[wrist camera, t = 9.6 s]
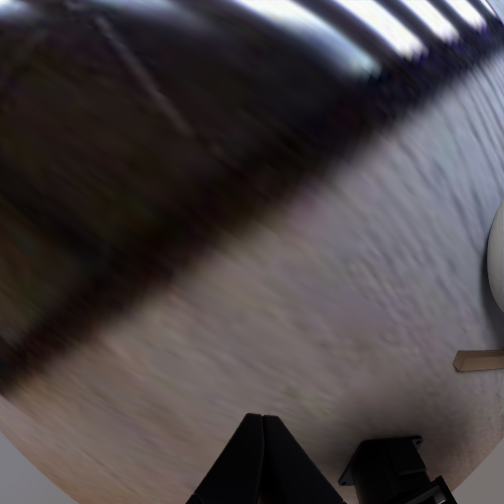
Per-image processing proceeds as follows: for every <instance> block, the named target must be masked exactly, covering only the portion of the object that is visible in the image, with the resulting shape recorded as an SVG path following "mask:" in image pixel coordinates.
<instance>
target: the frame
mask: <svg viewBox="0 0 504 504" xmlns="http://www.w3.org/2000/svg"><path fill="white" fill-rule="evenodd" d="M453 365H454V366H455V367H456V368H457V369H458V370H459V371H474V370H487V369H499V368H504V350H484V351H458V353H457V355H456V357H455V360H454V362H453Z"/></svg>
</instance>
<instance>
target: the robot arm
mask: <svg viewBox="0 0 504 504" xmlns="http://www.w3.org/2000/svg"><path fill="white" fill-rule="evenodd" d="M422 442H423V438H422V437H421V436H414V437H405V438H395V439H383V440H367V441H364V442H362V443H361V444H360V445H359V447H358V449H357V451H356V452H355V454H354V456H353V458H352V459H351V461H350V463H349V464H348V466H347V468H346V469H345V471H344V473H343V474H342V476H341V477H340V479H339V481H338V483H339V486H351V485H354V486H355V490H356V493H357V497H358V500H359V504H438V503H440V502H441V501H443V500H445V501H444V502H443V503H441V504H457V502H456V501H455V499H454V497H453V495H452V493H451V492H450V490H449V488H448V486H447V485H446V483H445V481H444V479H443V478H442V476H441V475H440V476H439V477H437V478H435V479H436V480H434V481H432V482H431V481H430V479H429V477H428V475H427V473H426V466H425V464H424V462H423V461H422V459H421V457H420V455H419V453H418V451H417V450H418V448H419V447H420V445H421V444H422ZM185 504H347V503H346V502H343V499H342V497H341V496H340V495H339V494H338V493H337V491H336V490H335V489H334V488H333V487H332V485H331V484H330V483H329V482H328V480H327V479H326V478H325V477H324V475H323V474H322V473H321V472H320V470H319V469H318V468H317V467H316V465H315V464H314V463H313V462H312V460H311V459H310V458H309V457H308V455H307V454H306V453H305V451H304V450H303V449H302V447H301V446H300V445H299V443H298V442H297V441H296V440H295V438H294V437H293V436H292V434H291V433H290V432H289V430H288V429H287V427H286V426H285V425H284V423H283V422H282V421H281V419H280V418H279V417H278V416H272V415H263V416H262V415H261V414H254V413H247V414H246V415H245V417H244V418H243V420H242V422H241V423H240V425H239V426H238V428H237V429H236V431H235V433H234V434H233V436H232V437H231V439H230V440H229V442H228V443H227V445H226V446H225V448H224V449H223V451H222V452H221V454H220V455H219V457H218V458H217V460H216V461H215V463H214V464H213V466H212V467H211V469H210V470H209V472H208V473H207V475H206V476H205V477H204V479H203V480H202V482H201V483H200V484H199V486H198V487H197V489H196V490H195V492H194V494H192V495H191V497H190V498H189V499H188V501H187V502H186V503H185Z"/></svg>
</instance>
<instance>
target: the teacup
mask: <svg viewBox="0 0 504 504" xmlns="http://www.w3.org/2000/svg"><path fill="white" fill-rule="evenodd" d="M487 271H488V278H489V284H490V288H491V291H492V294H493V297H494V299H495V301H496V303H497V305H498V306H499V308H500V309H501V310H502V312H503V313H504V199H503V201H502V202H501V204H500V206H499V208H498V210H497V212H496V215H495V217H494V220H493V224H492V227H491V231H490V235H489V240H488V249H487Z"/></svg>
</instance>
